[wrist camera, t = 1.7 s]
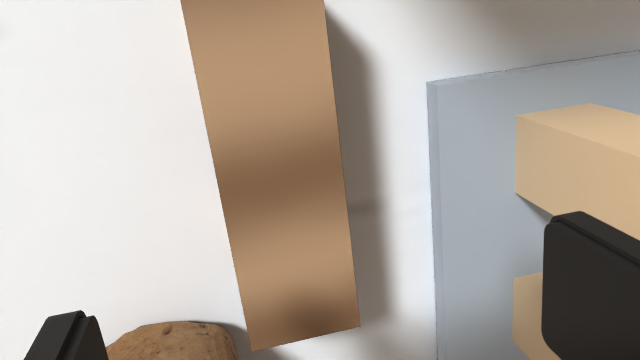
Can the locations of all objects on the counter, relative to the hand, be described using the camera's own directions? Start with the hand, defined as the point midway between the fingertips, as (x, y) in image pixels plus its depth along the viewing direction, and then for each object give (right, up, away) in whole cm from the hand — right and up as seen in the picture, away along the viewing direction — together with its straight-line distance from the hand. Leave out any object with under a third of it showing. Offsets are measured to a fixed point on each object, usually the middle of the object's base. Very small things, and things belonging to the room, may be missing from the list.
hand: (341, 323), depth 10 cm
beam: (-3, +5, +13) cm, 15 cm away
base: (+11, +1, +18) cm, 21 cm away
